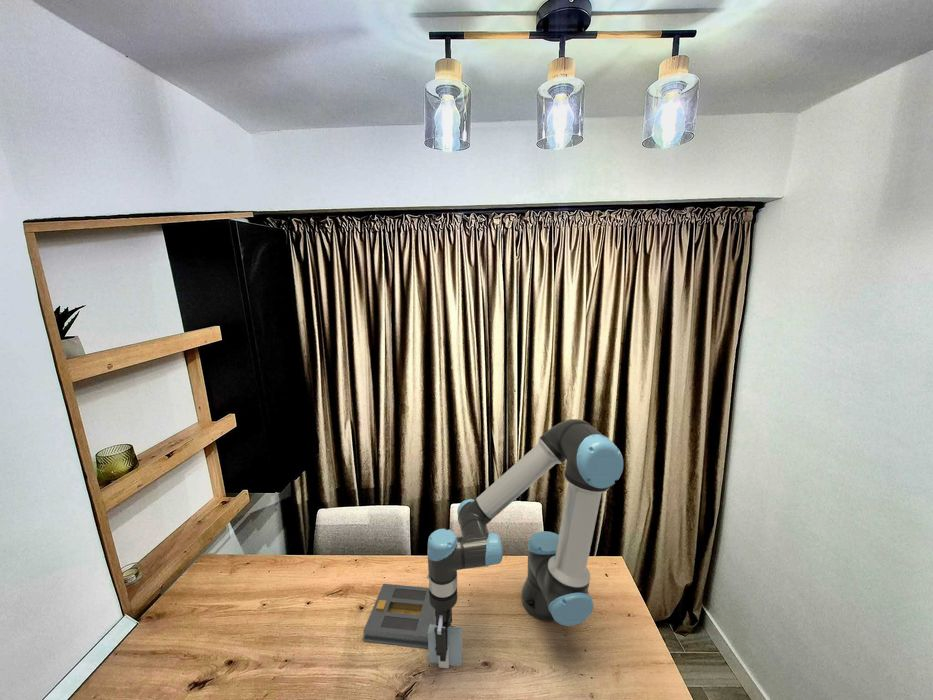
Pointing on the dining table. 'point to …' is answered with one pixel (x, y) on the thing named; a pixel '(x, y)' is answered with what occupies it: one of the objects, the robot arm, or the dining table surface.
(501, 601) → the dining table surface
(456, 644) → the panel
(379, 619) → the panel
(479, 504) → the robot arm
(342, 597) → the dining table surface
